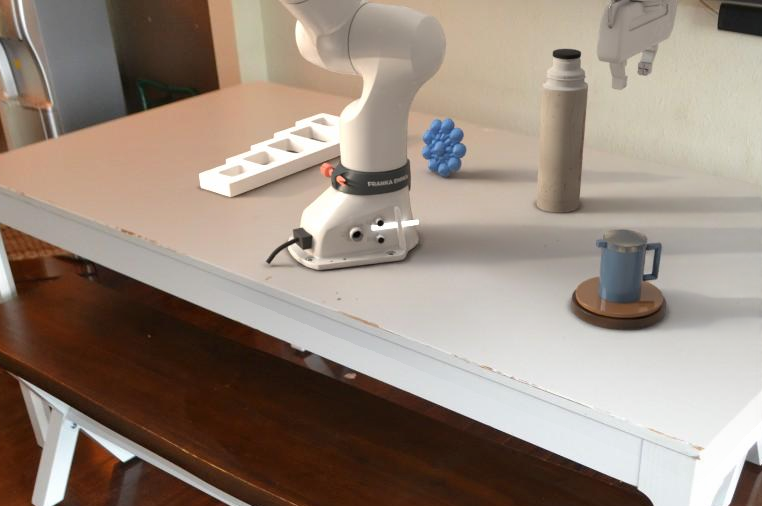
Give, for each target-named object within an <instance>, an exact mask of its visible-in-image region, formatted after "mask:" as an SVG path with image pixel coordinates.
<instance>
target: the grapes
mask: <svg viewBox="0 0 762 506" xmlns="http://www.w3.org/2000/svg"><path fill="white" fill-rule="evenodd" d="M455 126H456V125H455V122H454V120H453V119H452V118H449V117H447V118H444V119H443V120H441V119H438V118H436V119H434V120H432V121H431V123H430V126H429V129H427V130H425V132H424V133H423V135H422V142H423V143H424V144H425V145H424V146H423V147H422V150H421V156H422V157H423V159H425V160H427V161H428V163H427V168H428V170H429V171H430V172H431V173H437V172H438V174H439V175H440V176H441V177H442V178H446V177H449V176H450V175H451V173H452V172H453V173H455V172H459V170H460V169H461V167H462V163H463V162H462V159H463V158H464V157H465V156H466V154H467V146H466V145H465V144H464V143H462V141H463V139H464V137H465V133H464V131H463V130H462V129H461V128H460V127H455Z"/></svg>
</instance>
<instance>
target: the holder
mask: <svg viewBox="0 0 762 506" xmlns="http://www.w3.org/2000/svg"><path fill="white" fill-rule="evenodd" d="M339 118H340V116H337V115H332V114H329V113H324V112H321V113H318V114H315V115H313V116H309V117H306V118H304V119H301V120H300V119H299V120H297V121H295V126H292V127H289V128H286V129H284V130H280V131H277V132H274V133H273V138H270V139H268V140H264V141H262V142H259V143H255V144H253V145H250V150H248V151H246V152H243V153H240V154H237V155H234V156H231V157H228V158H226V159H225V164H222V165H219V166H217V167H214V168H212V169H207V170H205V171H203V172H200V173H199V174H198V177H199V184H200V188H201V189H203V190H207V191H209V192H213V193H217V194H219V195H221V196H226V197H229V198H233V197H235V196H238V195H241V194H243V193H246V192H249V191H251V190H254V189H256V188H259V187H262V186H265V185H267V184H269V183H273V182H275V181H279V180H280V179H283V178H286V177H288V176H290V175H293V174H296V173H299V172H301V171H304V170H306V169H308V168H309V169H310V168H312V167H314V166H317V165H319V164H322V163H325V162H327V161H330V160H332V159H335V158H338V157H341V153H340V135H339Z"/></svg>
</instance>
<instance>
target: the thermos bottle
mask: <svg viewBox="0 0 762 506" xmlns="http://www.w3.org/2000/svg"><path fill="white" fill-rule="evenodd" d="M552 57H553V59H552V66H551V67H549V68H548V69H547V71H546V76H545V78H546V80H545V81H544V82H543V83H542V88H541V89H542V91H541V106H540V107H541V110H540V128H539V150H538V152H539V153H538V157H539V158H538V170H537V187H536V189H537V190H536V207H538V208H539V209H540V210H542V211H545V212H549V213H555V214H556V213H557V214H558V213H561V214H563V213H569V212H573V211H575V210H577V209H578V208H579V207H580V198H581V187H582V172H583V171H582V170H583V160H584V156H583V155H584V143H585V134H586V133H585V132H586V120H587V119H586V118H587V105H588V95H589V94H588V93H589V84H588V83H587V82H586V81H585V79H586V77H587V76H586V70H584V69H583V68H582V67H581V65H582V64H581V63H582V60H581V57H582V52H581V51H580V50H578V49H574V48H558V49H554V50H553V51H552Z"/></svg>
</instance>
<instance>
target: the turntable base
mask: <svg viewBox="0 0 762 506" xmlns="http://www.w3.org/2000/svg"><path fill="white" fill-rule="evenodd" d="M570 304H571V310H572V312H573V313H574V315H575V316H576V317H577V318H579V319H581V320H582V321H584V322H586V323H588V324H590V325H593V326H595V327H599V328H604V329H608V330H609V329H610V330H617V331H632V330H640V329H645V328H648V327H652V326H654V325H656V324H657V323H659V322H661V320H662V319H663V318H664V317H665V315H666V309H667V300H666V298H665V296H664V295H663V304H662V306H661V307H660V308H659V309H658V310H657V311H655V312H653V313H651V314H648V315H645V316H641V317H633V318H618V317H610V316H605V315H600V314H597V313H594V312H592V311H589V310H587V309H586V308H584V307H583V306H581V305H580V304H579V303H578V301H577V300H576V289H575V290H574V291H572V295H571V303H570Z"/></svg>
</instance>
